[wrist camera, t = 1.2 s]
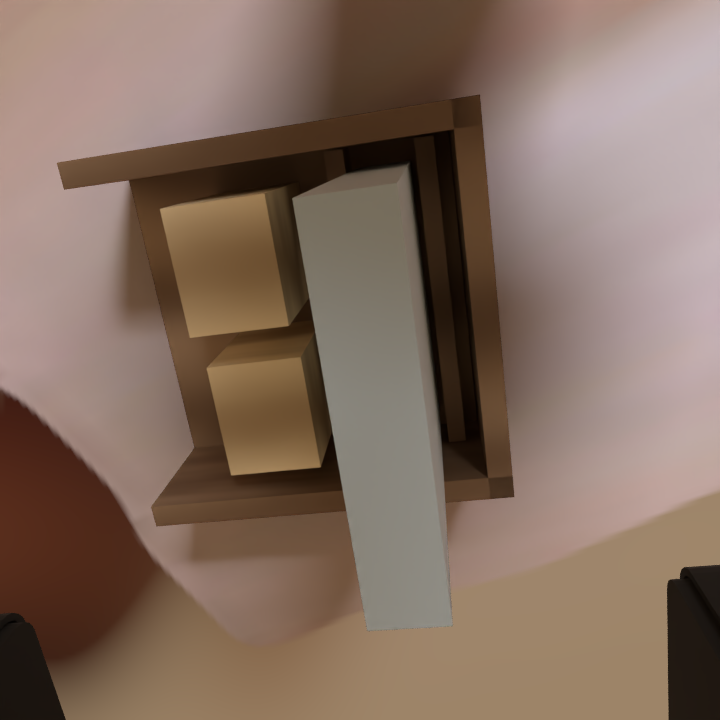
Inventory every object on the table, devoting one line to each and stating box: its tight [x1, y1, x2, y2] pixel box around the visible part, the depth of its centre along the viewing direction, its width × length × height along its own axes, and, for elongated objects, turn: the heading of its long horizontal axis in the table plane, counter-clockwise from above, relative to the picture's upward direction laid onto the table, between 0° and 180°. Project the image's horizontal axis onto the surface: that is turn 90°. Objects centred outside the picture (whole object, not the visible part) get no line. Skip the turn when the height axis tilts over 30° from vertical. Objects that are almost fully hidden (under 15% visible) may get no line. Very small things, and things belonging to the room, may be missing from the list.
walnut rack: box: [57, 95, 514, 526], centre depth 30 cm, size 16×16×7 cm
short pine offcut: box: [207, 320, 332, 475], centre depth 31 cm, size 5×4×6 cm
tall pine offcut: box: [160, 182, 309, 338], centre depth 28 cm, size 5×4×7 cm
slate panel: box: [292, 160, 453, 631], centre depth 24 cm, size 12×2×16 cm, turn 8°
